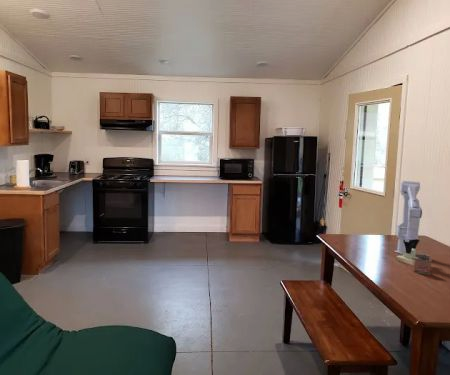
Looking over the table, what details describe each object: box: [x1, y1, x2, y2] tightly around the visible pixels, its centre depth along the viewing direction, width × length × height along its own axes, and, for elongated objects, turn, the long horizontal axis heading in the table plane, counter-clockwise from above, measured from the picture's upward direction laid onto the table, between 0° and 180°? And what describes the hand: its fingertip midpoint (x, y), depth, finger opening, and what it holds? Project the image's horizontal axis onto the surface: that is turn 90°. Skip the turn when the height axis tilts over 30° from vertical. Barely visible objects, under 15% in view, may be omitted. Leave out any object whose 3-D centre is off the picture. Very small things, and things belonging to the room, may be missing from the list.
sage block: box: [403, 248, 417, 259], centre depth 219 cm, size 4×4×5 cm
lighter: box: [412, 252, 433, 275], centre depth 201 cm, size 8×3×10 cm, turn 71°
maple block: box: [395, 254, 415, 267], centre depth 220 cm, size 10×10×3 cm
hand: (410, 252), depth 219 cm, fingers open, 5 cm apart
